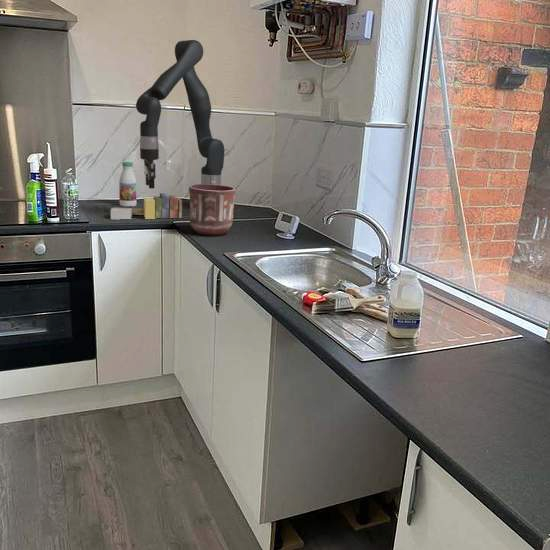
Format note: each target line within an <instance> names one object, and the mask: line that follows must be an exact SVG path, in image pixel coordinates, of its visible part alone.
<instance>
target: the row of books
mask: <svg viewBox="0 0 550 550" xmlns="http://www.w3.org/2000/svg"><path fill="white" fill-rule="evenodd" d="M153 199H154V200H155V219H156V218H169V219H170V218H178V217H179V218H182V219H183V200H182V199H181V198H179V197H178V196H177V195H169V194H168V193H167V192H159V196H158V195H157V196H153ZM111 209H112V208H110V210H109V211H110V212H111ZM132 215H144V208H132ZM179 218H178V219H179Z"/></svg>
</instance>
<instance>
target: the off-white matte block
mask: <svg viewBox="0 0 550 550" xmlns="http://www.w3.org/2000/svg"><path fill="white" fill-rule="evenodd" d="M110 209H111V211H110V220H120V219H131V220H132V218H133V216H132V209H133V208H132V207H130V208H129V207H111V208H110ZM131 217H132V218H131Z"/></svg>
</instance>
